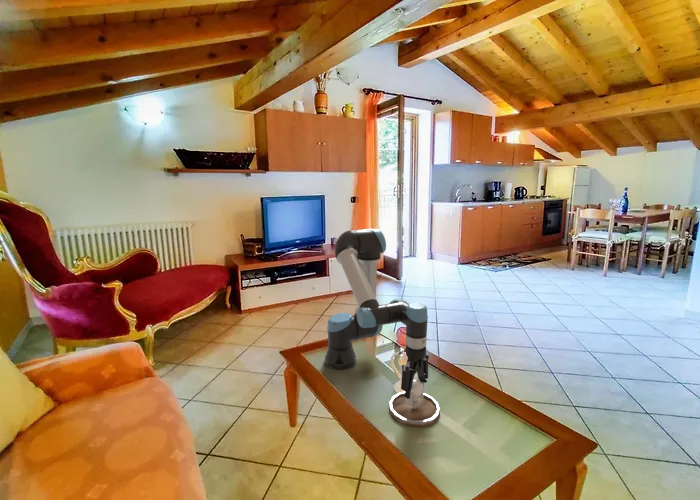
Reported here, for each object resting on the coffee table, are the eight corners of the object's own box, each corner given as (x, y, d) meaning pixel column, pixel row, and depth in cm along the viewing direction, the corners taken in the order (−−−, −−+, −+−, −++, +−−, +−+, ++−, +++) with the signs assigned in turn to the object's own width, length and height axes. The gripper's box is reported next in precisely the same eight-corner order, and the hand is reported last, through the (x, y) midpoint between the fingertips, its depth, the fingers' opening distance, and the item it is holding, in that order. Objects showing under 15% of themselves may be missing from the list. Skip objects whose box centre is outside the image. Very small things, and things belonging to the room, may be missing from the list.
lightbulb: (422, 412, 132) (423, 386, 130) (405, 410, 133) (406, 384, 131) (422, 402, 138) (423, 376, 136) (406, 400, 140) (406, 375, 137)
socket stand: (378, 409, 137) (378, 404, 136) (409, 388, 149) (410, 385, 149) (419, 434, 123) (419, 430, 123) (449, 410, 136) (449, 406, 135)
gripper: (407, 357, 122) (406, 416, 126) (439, 340, 134) (437, 394, 139) (391, 350, 127) (390, 407, 132) (423, 334, 140) (421, 386, 144)
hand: (414, 400), depth 135 cm, fingers closed on lightbulb, 6 cm apart
